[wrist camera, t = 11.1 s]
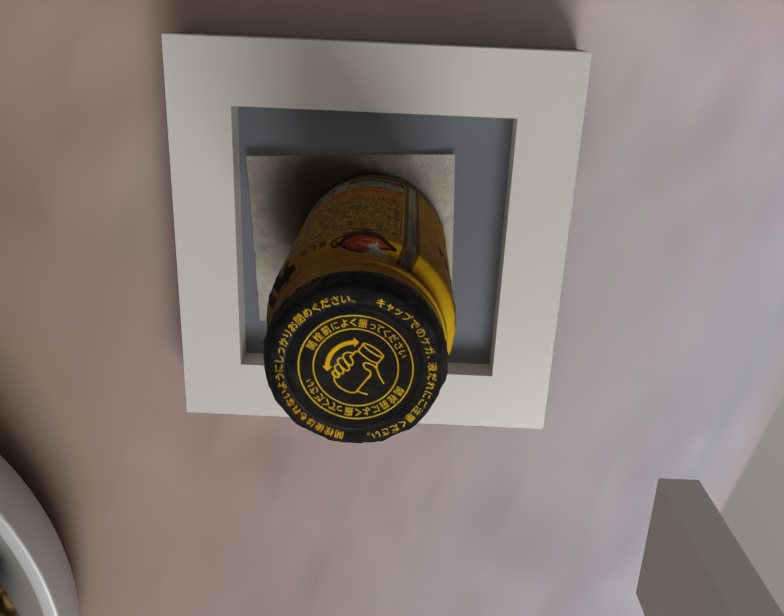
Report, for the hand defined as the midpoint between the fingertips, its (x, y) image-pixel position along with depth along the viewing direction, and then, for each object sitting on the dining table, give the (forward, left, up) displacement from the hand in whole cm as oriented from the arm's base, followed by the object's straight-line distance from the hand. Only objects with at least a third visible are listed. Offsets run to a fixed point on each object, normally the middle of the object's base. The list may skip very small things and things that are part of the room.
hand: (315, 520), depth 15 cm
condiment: (0, +1, -19) cm, 19 cm away
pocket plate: (0, 0, -20) cm, 20 cm away
